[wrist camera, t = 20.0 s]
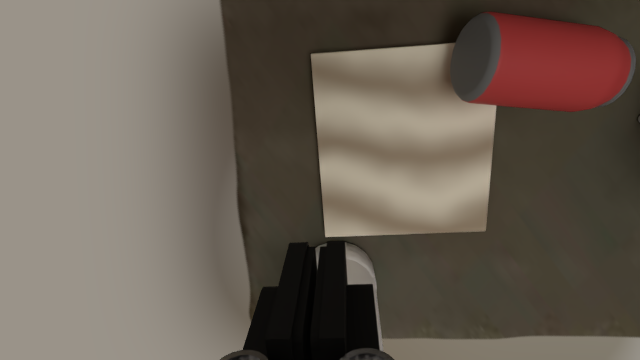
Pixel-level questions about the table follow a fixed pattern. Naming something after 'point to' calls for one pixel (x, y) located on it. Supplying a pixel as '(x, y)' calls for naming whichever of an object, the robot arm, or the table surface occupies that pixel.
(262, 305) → the robot arm
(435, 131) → the birch board
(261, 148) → the table surface
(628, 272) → the table surface
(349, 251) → the bottle
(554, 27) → the beer can
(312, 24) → the table surface
